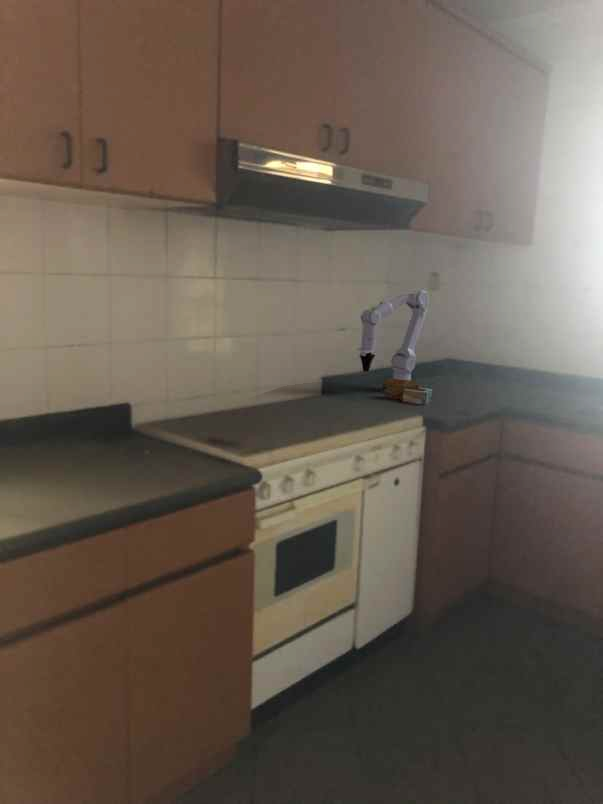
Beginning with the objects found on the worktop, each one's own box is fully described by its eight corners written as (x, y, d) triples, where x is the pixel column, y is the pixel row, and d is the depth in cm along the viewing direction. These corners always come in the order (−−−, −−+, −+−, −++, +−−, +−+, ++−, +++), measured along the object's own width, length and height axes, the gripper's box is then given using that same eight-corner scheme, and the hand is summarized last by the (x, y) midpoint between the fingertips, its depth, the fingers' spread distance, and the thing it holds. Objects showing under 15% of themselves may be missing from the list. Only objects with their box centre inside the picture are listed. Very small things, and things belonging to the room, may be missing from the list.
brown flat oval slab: (381, 397, 273) (383, 377, 271) (382, 396, 276) (384, 376, 274) (417, 402, 269) (420, 381, 267) (418, 401, 272) (421, 380, 270)
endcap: (408, 397, 276) (409, 386, 275) (430, 401, 273) (432, 389, 272) (402, 401, 267) (403, 389, 266) (426, 405, 264) (427, 392, 263)
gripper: (364, 336, 283) (361, 368, 286) (354, 339, 269) (351, 372, 272) (380, 338, 280) (377, 370, 283) (371, 341, 267) (368, 374, 270)
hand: (365, 371), depth 278 cm, fingers closed
